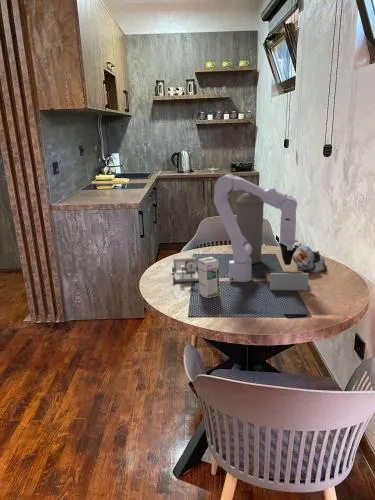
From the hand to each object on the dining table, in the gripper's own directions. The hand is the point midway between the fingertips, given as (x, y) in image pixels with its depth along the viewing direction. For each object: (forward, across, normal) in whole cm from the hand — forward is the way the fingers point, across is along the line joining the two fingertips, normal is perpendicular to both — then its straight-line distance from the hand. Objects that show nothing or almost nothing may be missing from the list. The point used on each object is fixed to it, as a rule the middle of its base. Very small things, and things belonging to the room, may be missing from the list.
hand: (286, 262), depth 150 cm
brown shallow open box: (+9, -2, 0) cm, 10 cm away
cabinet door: (+8, -8, 0) cm, 12 cm away
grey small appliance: (+10, +7, +41) cm, 43 cm away
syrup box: (+10, -11, +30) cm, 33 cm away
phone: (+10, -21, +2) cm, 23 cm away
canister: (+10, +30, +13) cm, 34 cm away
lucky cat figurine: (+10, +17, -12) cm, 23 cm away
